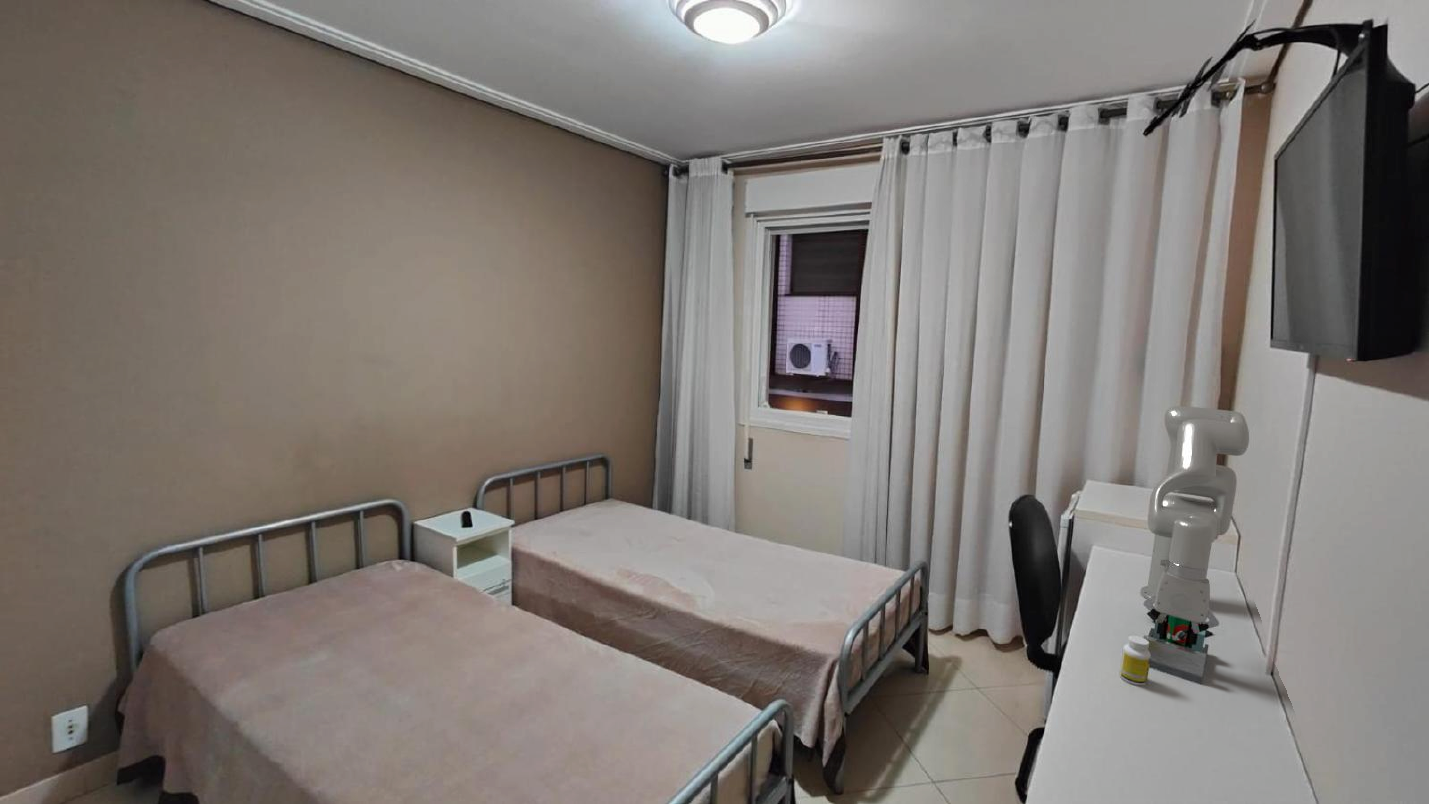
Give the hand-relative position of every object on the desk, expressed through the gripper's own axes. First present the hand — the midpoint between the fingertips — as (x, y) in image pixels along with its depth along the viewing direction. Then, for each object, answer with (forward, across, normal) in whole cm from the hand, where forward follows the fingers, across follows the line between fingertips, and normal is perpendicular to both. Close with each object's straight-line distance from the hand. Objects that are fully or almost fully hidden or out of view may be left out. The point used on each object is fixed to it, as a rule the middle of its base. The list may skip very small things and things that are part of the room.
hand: (1175, 641), depth 154 cm
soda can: (+3, 0, 0) cm, 3 cm away
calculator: (+6, -1, +24) cm, 25 cm away
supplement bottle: (+6, -6, -15) cm, 17 cm away
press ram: (+4, 0, +8) cm, 9 cm away
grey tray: (+6, 0, +3) cm, 7 cm away
